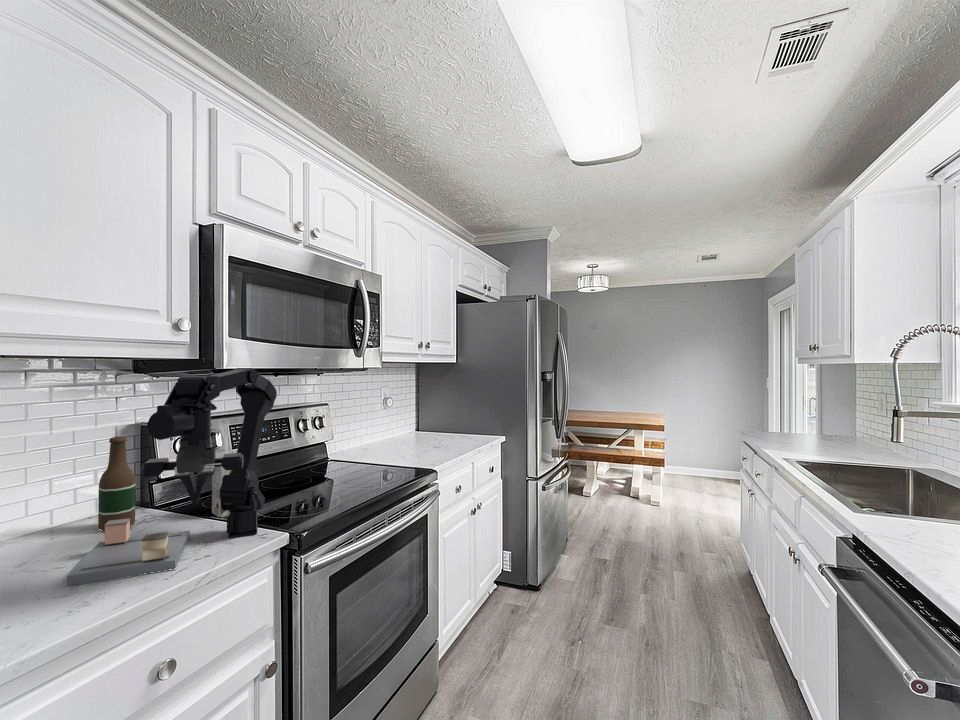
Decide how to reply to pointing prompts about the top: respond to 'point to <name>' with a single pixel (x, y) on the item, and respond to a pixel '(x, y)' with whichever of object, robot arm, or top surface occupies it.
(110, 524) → the block
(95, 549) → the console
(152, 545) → the block
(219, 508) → the coffee box
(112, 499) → the beer bottle
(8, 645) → the top surface
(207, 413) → the robot arm
